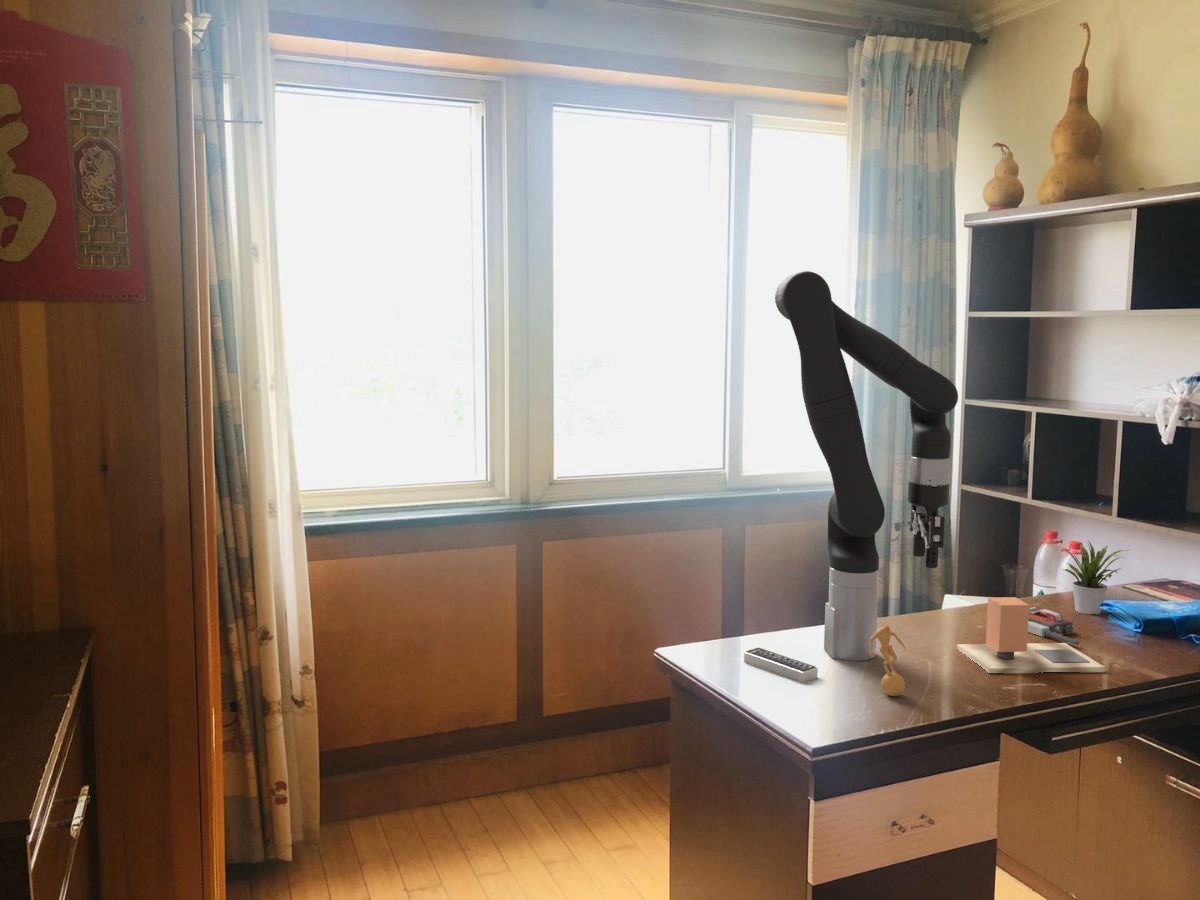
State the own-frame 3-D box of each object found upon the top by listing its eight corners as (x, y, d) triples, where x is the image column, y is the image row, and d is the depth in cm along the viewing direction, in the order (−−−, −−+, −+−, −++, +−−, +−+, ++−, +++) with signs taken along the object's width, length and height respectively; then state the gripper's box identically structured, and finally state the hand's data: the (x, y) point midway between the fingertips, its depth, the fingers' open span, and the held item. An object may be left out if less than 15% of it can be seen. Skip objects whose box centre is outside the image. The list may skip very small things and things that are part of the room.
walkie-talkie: (996, 623, 207) (1073, 651, 189) (997, 603, 206) (1075, 629, 188) (1026, 618, 210) (1105, 645, 192) (1027, 599, 210) (1106, 624, 192)
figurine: (884, 703, 160) (887, 635, 159) (858, 692, 165) (860, 625, 164) (918, 694, 164) (921, 627, 163) (891, 683, 169) (894, 618, 168)
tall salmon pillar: (998, 651, 178) (1001, 605, 177) (985, 642, 183) (988, 597, 182) (1026, 651, 178) (1029, 605, 177) (1013, 642, 183) (1015, 597, 182)
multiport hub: (802, 684, 170) (803, 672, 170) (742, 663, 181) (743, 651, 181) (818, 679, 173) (818, 667, 172) (758, 658, 184) (758, 646, 184)
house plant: (1144, 618, 210) (1150, 546, 208) (1097, 624, 205) (1102, 550, 203) (1091, 601, 223) (1096, 533, 221) (1046, 607, 218) (1050, 537, 216)
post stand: (988, 673, 175) (991, 615, 173) (956, 649, 188) (959, 595, 187) (1104, 672, 175) (1108, 614, 174) (1064, 647, 189) (1067, 594, 188)
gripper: (899, 473, 189) (895, 552, 192) (919, 486, 175) (915, 571, 178) (937, 474, 189) (933, 552, 191) (960, 486, 175) (955, 572, 177)
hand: (924, 561), depth 184 cm, fingers open, 8 cm apart
